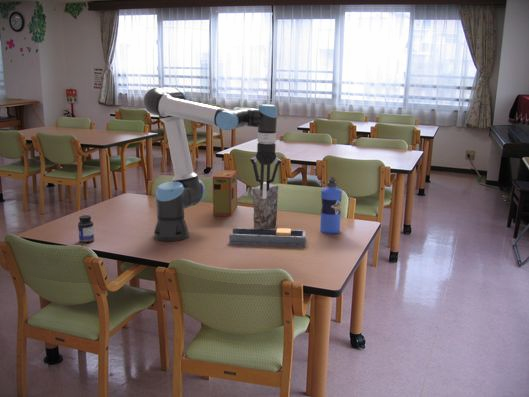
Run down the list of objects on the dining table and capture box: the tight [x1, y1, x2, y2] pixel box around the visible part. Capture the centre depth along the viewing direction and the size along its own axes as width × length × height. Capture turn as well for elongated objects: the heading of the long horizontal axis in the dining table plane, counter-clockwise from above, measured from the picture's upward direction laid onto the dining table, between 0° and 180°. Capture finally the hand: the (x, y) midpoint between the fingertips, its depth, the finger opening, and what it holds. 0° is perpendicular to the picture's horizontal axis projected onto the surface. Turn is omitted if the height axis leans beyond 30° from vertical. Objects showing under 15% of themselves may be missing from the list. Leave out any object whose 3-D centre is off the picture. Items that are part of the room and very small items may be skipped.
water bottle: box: [319, 176, 343, 235], centre depth 243 cm, size 9×9×25 cm
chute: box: [228, 227, 307, 248], centre depth 230 cm, size 32×12×4 cm, turn 85°
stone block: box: [252, 183, 279, 229], centre depth 248 cm, size 13×7×20 cm, turn 151°
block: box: [276, 227, 292, 236], centre depth 230 cm, size 6×6×4 cm
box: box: [212, 169, 238, 217], centre depth 274 cm, size 17×9×20 cm, turn 172°
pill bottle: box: [77, 214, 95, 243], centre depth 228 cm, size 6×6×11 cm
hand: (264, 197), depth 227 cm, fingers closed
